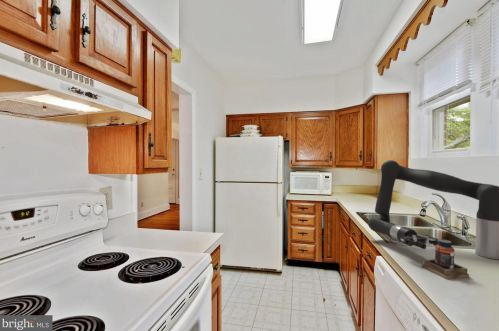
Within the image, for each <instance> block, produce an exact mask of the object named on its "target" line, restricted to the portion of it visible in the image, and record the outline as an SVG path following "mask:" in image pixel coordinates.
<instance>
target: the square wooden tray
mask: <svg viewBox="0 0 499 331" xmlns="http://www.w3.org/2000/svg"><path fill="white" fill-rule="evenodd" d="M421 267H422V268H424V269H426V270H427V271H430V272H431V273H434V274H435V275H438V276H440V277H441V278H443V279H445V280H450V279H451V280H452V279H462V278H470V274H469V273H468V268H467V267H464V266H462V265H459V264H457V263H455V262H454V269H444V268H442V267H440V266H437V265H435V258H433V259H423V264H421Z"/></svg>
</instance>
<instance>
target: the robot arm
mask: <svg viewBox="0 0 499 331" xmlns="http://www.w3.org/2000/svg"><path fill="white" fill-rule="evenodd" d="M380 172H381V180H380V186H379V191H378V194H377V197H376V198H377V199H376V202H375V208H374V212H375V214H378V215H379V218H378V217H372V218H370V219H369V220H368V227H369V229H371V231H373V232H376V233H378V234H383V235H385V236H387V237H390V238H393V239H394V240H395V241H398V242H400V243H402V244H404V245H406V246H409V247H413V246H414V247H415V248H417V247H418V248H420V249H422V250H426V249H427V246H429V245H431V246H434V247H436V245H437V244H439V243H438V242H439V239H438V238H436V237H433V236H430V235H427V234H424V235H421V234H418V233H417V232H416V230H415V229H412V228H410V227H406V226H404V225H400V224H396V223H393V222H391V220H390V218H391V216H390V212H391V211H390V210H391V207H392V206H391V205H392V200H393V194H394V193H393V192H394V186H395V183H396V180H399V181H405V182H409V183H410V184H413V185H417V186H420V187H424V188H426V189H430V190H435V191H438V192H441V193H442V192H443V193H448V194H456V195H462V196H464V197H465V196H466V197H469V198H472V199H474V200H477V201H478V209H477V211H476V216H475V217H476V219H475V221H476V222H475V242H474V243H475V245H474V246H475V249H474V253H475V254H476V255H478V256H479V257H480V256H481V257H483V258H486V259H492V260H493V259H494V260H499V185H496V184H495V185H494V184H487V183H481V182H476V181H475V182H474V181H470V180H465V179H462V178H460V177H456V176H455V175H454V176H453V175H450V174H448V173H444V172H438V171H435V170H429V169H421V168H420V169H417V168H411V167H407V166H403V165H400V164H399V163H398V162H397V161H396V160H392V159H391V160H386V161H385V162H382V165H381V167H380Z"/></svg>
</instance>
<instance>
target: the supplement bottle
mask: <svg viewBox="0 0 499 331" xmlns="http://www.w3.org/2000/svg"><path fill="white" fill-rule="evenodd" d="M438 241H439V242H438V243H439V244H437V245H436V246H434V247H435V248H434V250H435V251H434V253H435V254H434V259H435V265H437V266H440V267H442V268H444V269H454V263H455V248H454V247H453V246H452V241H450V240H448V239H438Z"/></svg>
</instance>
